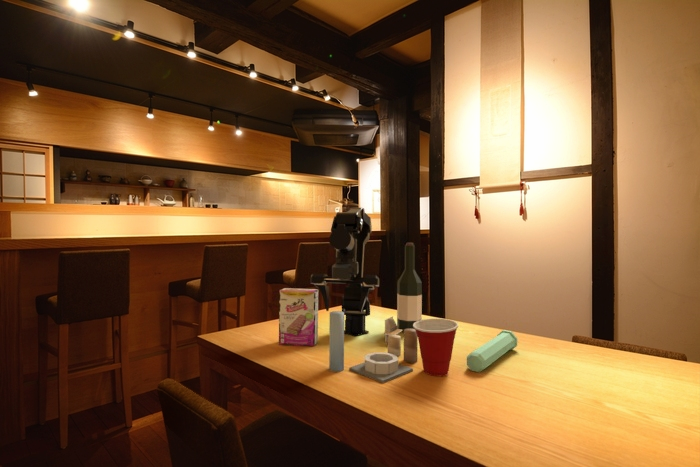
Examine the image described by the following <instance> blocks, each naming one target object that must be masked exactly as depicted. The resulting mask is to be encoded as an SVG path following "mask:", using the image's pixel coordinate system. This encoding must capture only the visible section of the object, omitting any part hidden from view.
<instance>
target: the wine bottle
mask: <svg viewBox="0 0 700 467" xmlns="http://www.w3.org/2000/svg"><path fill="white" fill-rule="evenodd" d="M415 256H416V246H415V244H414V242H406V244H405V245H404V270H403V272H402V273H401V275H400V277H399V278H398V279H397V281H396V282H397V285H396V286H397V288H396V290H397V291H396V292H397V294H396V295H397V298H396V299H397V300H396V301H397V302H396V303H397V304H396V307H397V310H396V312H397V313H396V314H397V316H396V325H397V327H398V329H402V331H401V332H400V333H403V334H404V329H415V328H414V327H413V324H414V323H415V322H417V321H420V320H423V319H422V317H423V316H422V314H423V313H422V311H423V310H422V308H423V307H422V306H423V303H422V302H423V301H422V300H423V294H422V293H423V292H422V291H423V289H422V287H423V284H422V283H423V282H422V280H421V278H420V276H419V275H418V274H417V271H416V269H415V266H416V265H415V262H416V259H415Z"/></svg>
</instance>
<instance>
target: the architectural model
mask: <svg viewBox="0 0 700 467" xmlns="http://www.w3.org/2000/svg"><path fill="white" fill-rule="evenodd" d="M401 331H402V329H398V327H397V322H396V321H395V319H394V316H390V317H388V318H386V319H385V320H384V333H383V334H384V343H385V344H386V343H388V336H389V335H399V334H400V333H402V332H401Z"/></svg>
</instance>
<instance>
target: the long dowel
mask: <svg viewBox="0 0 700 467" xmlns="http://www.w3.org/2000/svg"><path fill="white" fill-rule="evenodd" d="M344 330H345V315H344V312H342V310H331V311H330V312H329V334H328V335H329V336H328V337H329V338H328V340H329V341H328V343H329V346H328V348H329V349H328V350H329V356H328V357H329V358H328V360H329V363H328V364H329V365H328V368H329V369H328V370H329V371H330V372H334V373H340V372H342V371H344V369H345V333H344Z"/></svg>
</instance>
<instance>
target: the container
mask: <svg viewBox="0 0 700 467" xmlns="http://www.w3.org/2000/svg"><path fill="white" fill-rule="evenodd" d="M517 347H518V337H517V336H516V335H515V333H514V332H513V331H512V330H506V329H503V330H501V332H499V333H498V334H497V335H496V336H495V337H494V338H492V339H490V340H489V341H487V342H485V343H484V344H482V345H481V346H479V347H477V348H476V349H475V350H473V351H471V352H470V353H469V354H468V355H466V366H467V367H468V368H469V370H470V371H471V372H476V373H481V372H482V371H484V370H485V369H486V368H488V367H489V366H490V365H492V364H493V363H494V362H495V361H497V360H498V359H500V357H502V356H504V354H506V353H507V352H509V351H512V350H514V349H515V348H517Z"/></svg>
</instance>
